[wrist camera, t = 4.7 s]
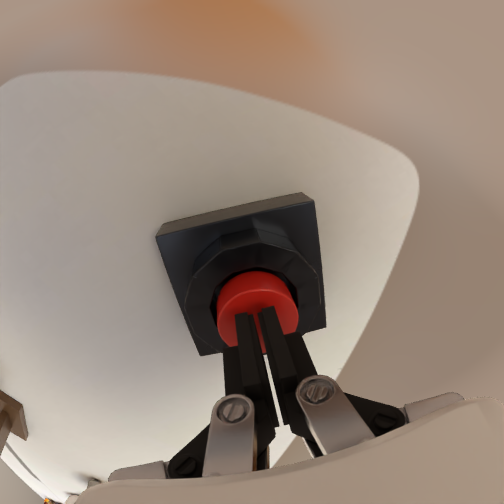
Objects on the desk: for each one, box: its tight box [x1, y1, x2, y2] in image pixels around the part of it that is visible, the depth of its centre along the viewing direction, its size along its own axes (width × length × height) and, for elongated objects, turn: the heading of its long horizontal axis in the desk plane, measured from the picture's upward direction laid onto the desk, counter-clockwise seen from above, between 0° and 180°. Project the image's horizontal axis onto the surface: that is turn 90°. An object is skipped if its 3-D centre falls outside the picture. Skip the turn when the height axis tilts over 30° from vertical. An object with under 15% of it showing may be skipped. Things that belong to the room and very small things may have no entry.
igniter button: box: [217, 271, 298, 353], centre depth 13 cm, size 4×4×2 cm
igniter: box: [155, 192, 326, 356], centre depth 15 cm, size 8×8×4 cm
